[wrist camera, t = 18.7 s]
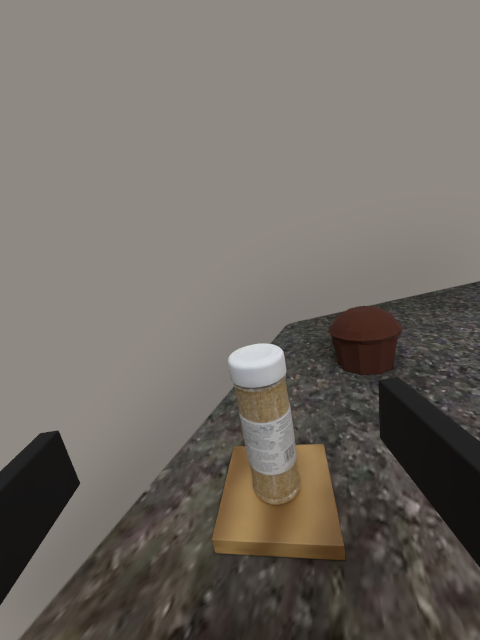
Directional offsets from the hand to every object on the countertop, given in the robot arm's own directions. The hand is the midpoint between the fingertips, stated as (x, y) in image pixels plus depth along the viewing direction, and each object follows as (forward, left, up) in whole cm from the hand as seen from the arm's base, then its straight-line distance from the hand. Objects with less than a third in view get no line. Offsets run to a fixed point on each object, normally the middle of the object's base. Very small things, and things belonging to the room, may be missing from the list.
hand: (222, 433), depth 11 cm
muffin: (+15, +37, -16) cm, 43 cm away
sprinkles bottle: (0, +11, -15) cm, 18 cm away
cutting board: (0, +11, -16) cm, 19 cm away
